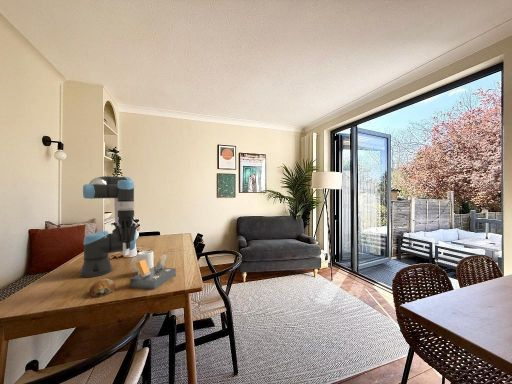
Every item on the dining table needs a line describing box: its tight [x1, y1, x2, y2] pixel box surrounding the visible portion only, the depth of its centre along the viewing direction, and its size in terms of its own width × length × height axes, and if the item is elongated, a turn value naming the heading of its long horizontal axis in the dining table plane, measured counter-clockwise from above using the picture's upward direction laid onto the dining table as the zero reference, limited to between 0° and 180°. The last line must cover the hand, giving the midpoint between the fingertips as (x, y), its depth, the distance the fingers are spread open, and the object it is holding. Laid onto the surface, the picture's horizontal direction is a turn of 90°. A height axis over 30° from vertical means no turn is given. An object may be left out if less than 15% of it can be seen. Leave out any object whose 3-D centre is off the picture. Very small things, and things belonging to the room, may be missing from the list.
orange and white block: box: [136, 259, 151, 278], centre depth 115 cm, size 2×5×8 cm, turn 167°
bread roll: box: [89, 278, 116, 298], centre depth 106 cm, size 10×10×8 cm
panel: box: [129, 253, 177, 290], centre depth 119 cm, size 14×18×12 cm
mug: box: [130, 250, 154, 275], centre depth 130 cm, size 12×8×12 cm
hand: (126, 254), depth 117 cm, fingers closed
